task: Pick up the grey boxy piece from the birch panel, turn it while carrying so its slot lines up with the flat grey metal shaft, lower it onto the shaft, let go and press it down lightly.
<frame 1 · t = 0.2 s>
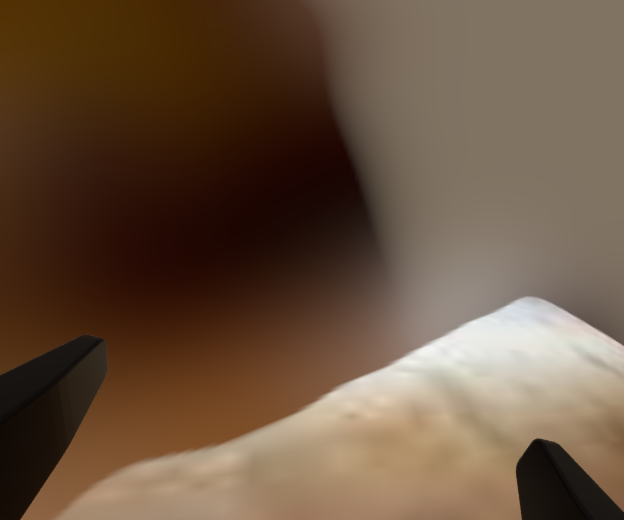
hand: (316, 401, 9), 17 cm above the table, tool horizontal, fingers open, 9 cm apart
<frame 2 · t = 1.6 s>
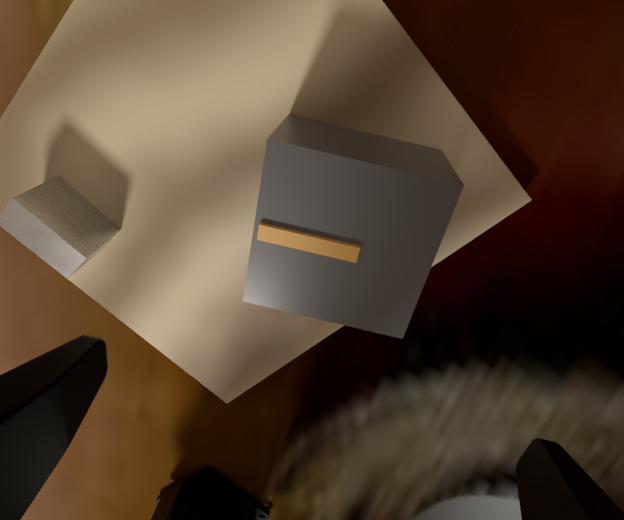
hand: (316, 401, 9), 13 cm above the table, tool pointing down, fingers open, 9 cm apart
grey boxy piece: (346, 203, 19), point 1 cm above the table, touching panel
panel: (228, 187, 20), on the table
key shaft: (82, 213, 21), resting on panel
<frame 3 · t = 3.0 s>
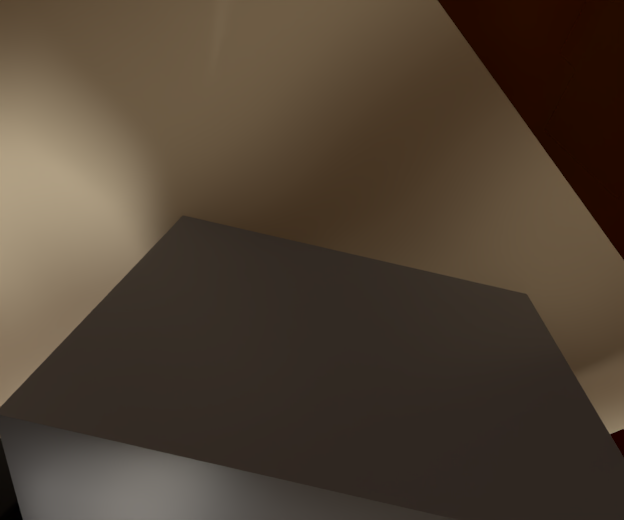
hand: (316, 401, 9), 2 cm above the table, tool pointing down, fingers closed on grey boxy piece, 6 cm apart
grey boxy piece: (319, 379, 9), point 1 cm above the table, touching gripper, panel
panel: (98, 328, 11), on the table
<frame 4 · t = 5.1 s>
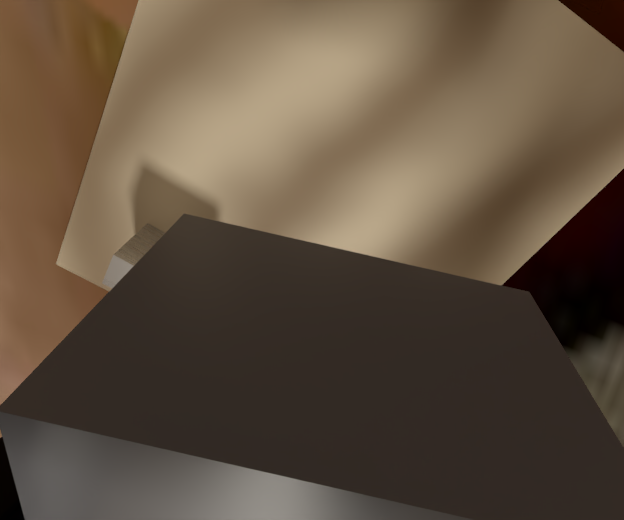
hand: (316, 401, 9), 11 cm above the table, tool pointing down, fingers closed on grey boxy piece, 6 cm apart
grey boxy piece: (320, 377, 9), point 11 cm above the table, touching gripper
panel: (318, 190, 19), on the table
key shaft: (177, 255, 20), resting on panel
when the fingers open (4 cm above the table, at t = 7.4 s): grey boxy piece drops 2 cm, resting on panel.
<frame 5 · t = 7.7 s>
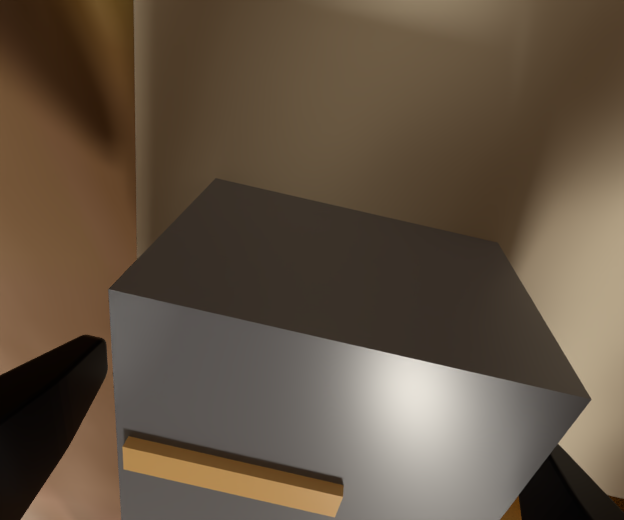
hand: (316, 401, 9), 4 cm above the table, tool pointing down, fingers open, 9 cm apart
grey boxy piece: (326, 322, 11), point 1 cm above the table, touching panel
panel: (575, 115, 9), on the table
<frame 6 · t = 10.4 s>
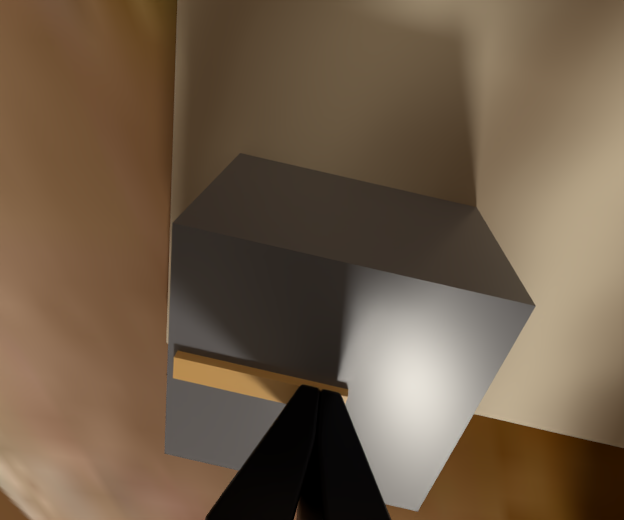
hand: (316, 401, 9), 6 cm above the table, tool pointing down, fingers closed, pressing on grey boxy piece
grey boxy piece: (331, 279, 13), point 1 cm above the table, touching gripper, panel
panel: (540, 100, 11), on the table
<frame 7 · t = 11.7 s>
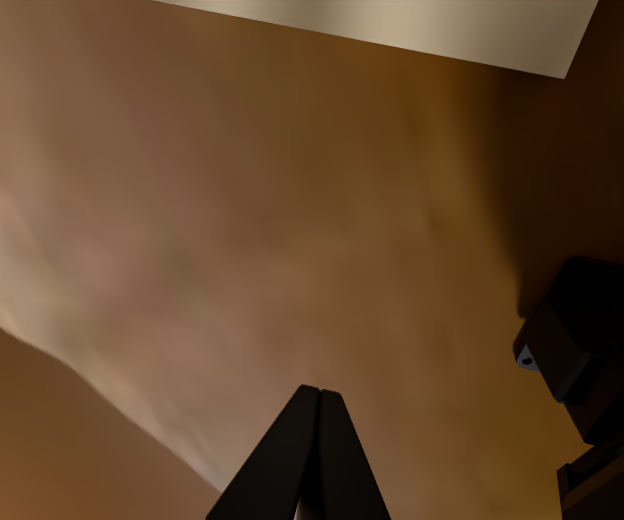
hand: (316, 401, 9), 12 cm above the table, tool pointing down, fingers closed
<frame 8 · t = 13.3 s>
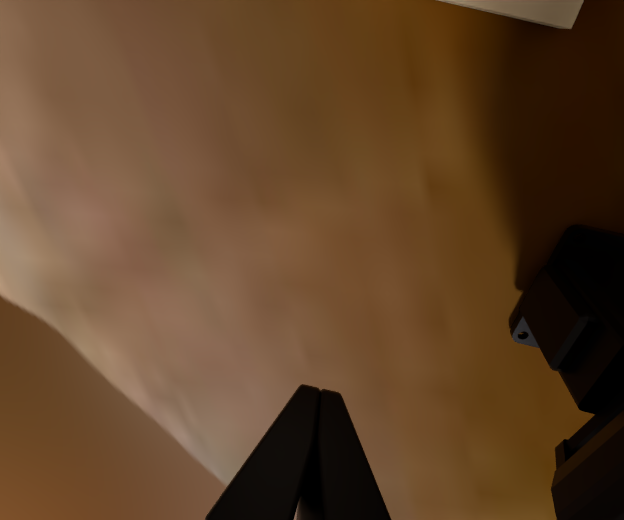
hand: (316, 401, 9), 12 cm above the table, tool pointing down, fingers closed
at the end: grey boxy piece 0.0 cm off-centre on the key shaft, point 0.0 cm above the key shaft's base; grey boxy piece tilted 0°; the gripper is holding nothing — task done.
